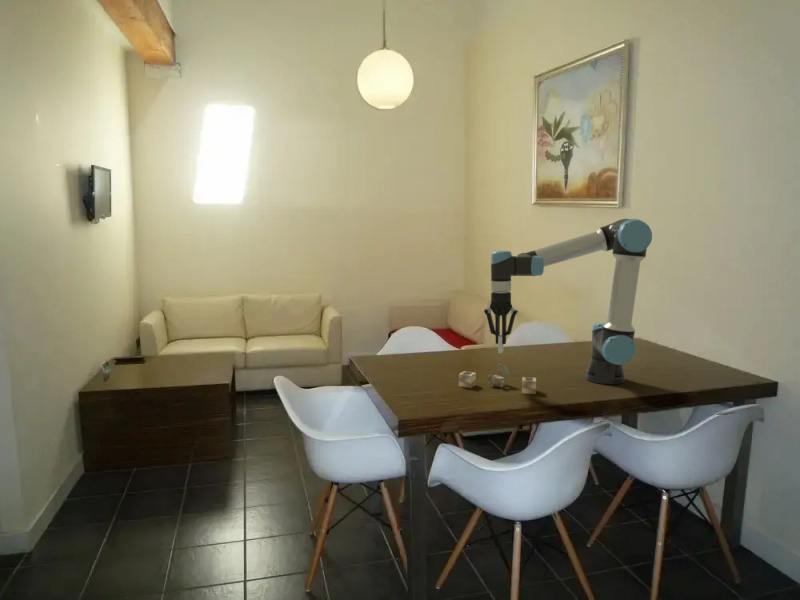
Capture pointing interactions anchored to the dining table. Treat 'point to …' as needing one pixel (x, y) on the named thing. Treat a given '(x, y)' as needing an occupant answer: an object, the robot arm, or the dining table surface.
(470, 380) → the marked cube 1
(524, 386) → the marked cube 2
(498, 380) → the white irregular piece
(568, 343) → the dining table surface
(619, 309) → the robot arm
